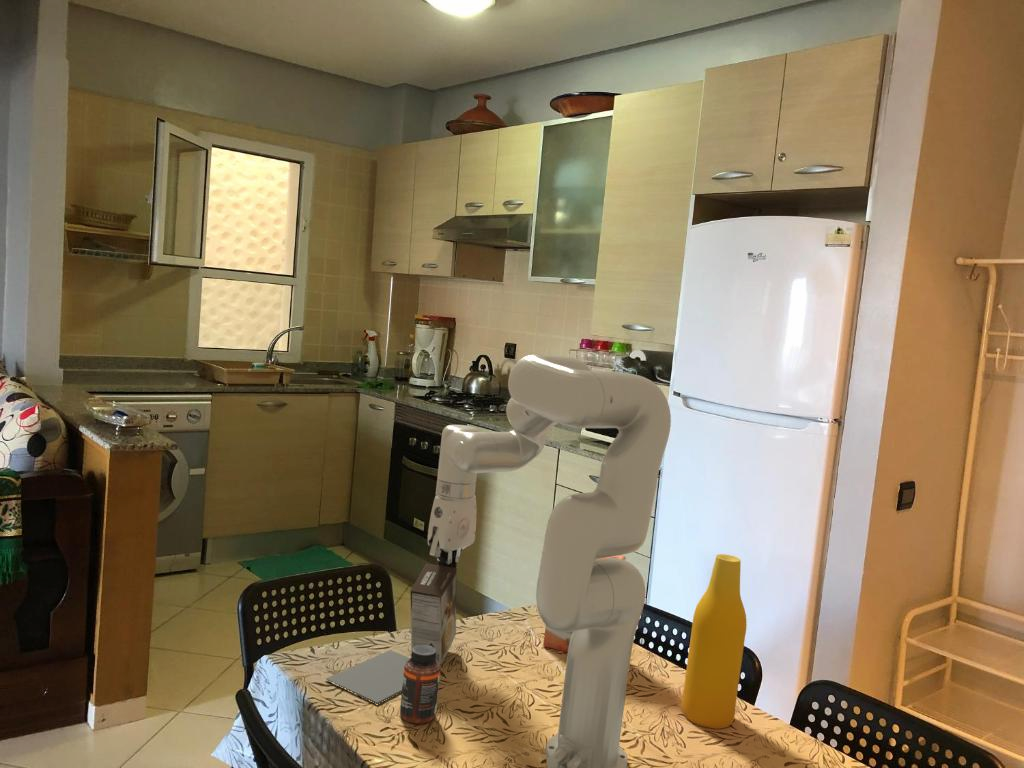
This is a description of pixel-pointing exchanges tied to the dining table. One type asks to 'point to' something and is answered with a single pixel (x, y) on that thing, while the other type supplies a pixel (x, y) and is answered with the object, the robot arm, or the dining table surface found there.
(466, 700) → the dining table surface
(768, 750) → the dining table surface
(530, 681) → the dining table surface
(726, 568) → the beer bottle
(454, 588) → the coffee box
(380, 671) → the mat
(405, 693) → the supplement bottle
